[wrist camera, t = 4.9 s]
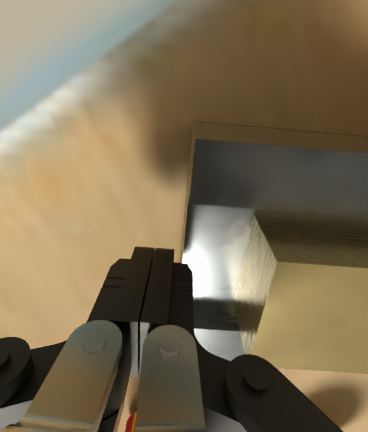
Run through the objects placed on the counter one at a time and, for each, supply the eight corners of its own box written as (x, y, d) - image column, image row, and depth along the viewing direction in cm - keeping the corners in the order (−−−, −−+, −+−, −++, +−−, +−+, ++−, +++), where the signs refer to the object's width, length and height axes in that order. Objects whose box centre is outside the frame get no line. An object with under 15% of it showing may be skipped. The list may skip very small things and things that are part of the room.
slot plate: (550, 152, 12) (710, 182, 8) (436, 314, 16) (507, 380, 13) (193, 121, 11) (195, 138, 8) (177, 297, 16) (174, 359, 12)
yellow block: (382, 224, 10) (454, 274, 7) (342, 310, 12) (386, 374, 9) (253, 213, 10) (277, 262, 7) (234, 302, 12) (247, 365, 9)
